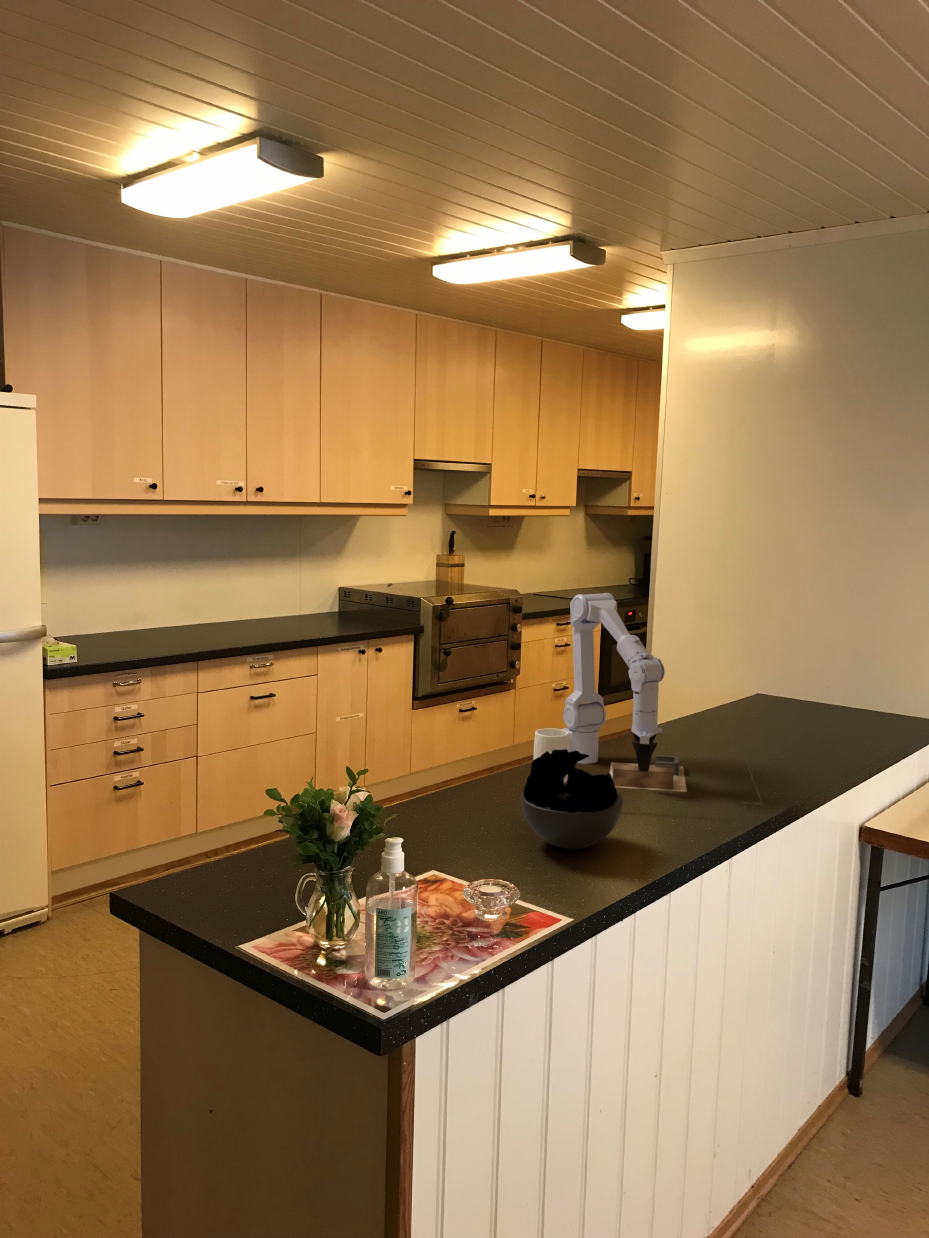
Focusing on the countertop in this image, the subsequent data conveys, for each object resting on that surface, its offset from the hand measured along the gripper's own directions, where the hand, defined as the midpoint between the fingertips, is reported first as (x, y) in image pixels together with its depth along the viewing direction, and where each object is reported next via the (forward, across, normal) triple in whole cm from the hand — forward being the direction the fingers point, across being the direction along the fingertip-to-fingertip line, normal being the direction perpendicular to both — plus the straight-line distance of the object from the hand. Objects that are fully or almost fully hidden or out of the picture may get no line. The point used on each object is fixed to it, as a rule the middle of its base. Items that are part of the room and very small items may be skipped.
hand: (643, 766), depth 231 cm
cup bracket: (+4, +13, -6) cm, 15 cm away
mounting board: (+5, +8, -1) cm, 9 cm away
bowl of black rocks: (+6, -41, +14) cm, 44 cm away
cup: (+6, -7, +21) cm, 23 cm away
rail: (+4, 0, 0) cm, 5 cm away
